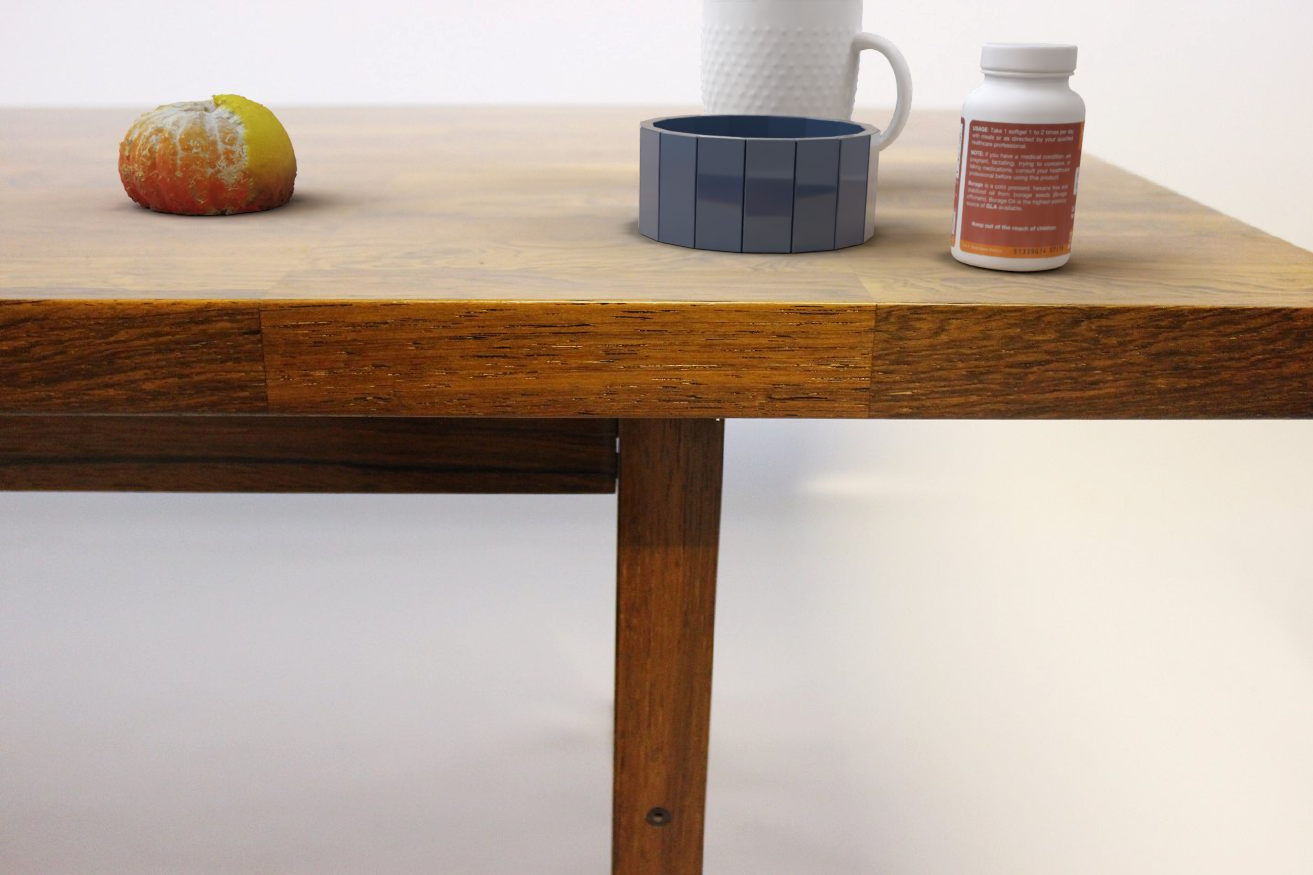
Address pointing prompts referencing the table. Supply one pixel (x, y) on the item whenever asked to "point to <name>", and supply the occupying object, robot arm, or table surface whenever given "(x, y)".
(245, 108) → the fruit
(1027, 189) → the pill bottle
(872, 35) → the mug
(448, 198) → the table surface
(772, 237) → the pot
